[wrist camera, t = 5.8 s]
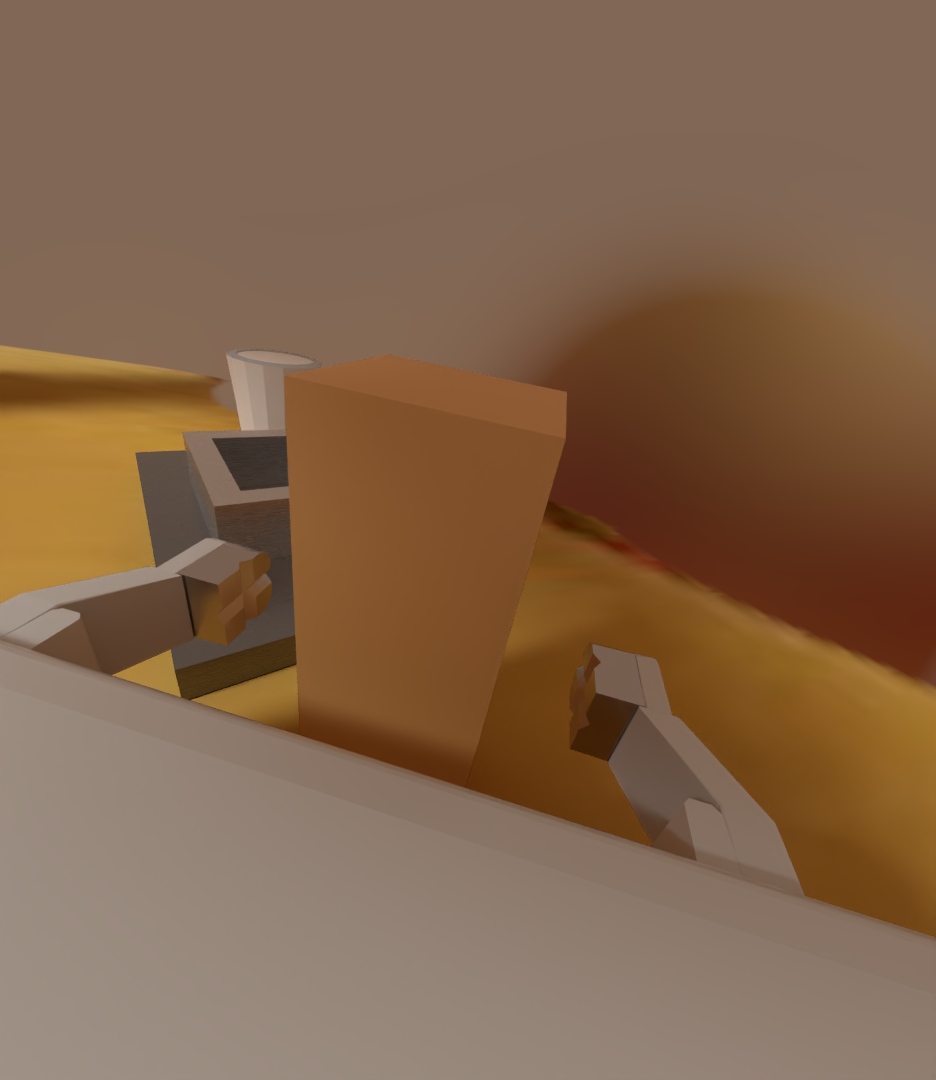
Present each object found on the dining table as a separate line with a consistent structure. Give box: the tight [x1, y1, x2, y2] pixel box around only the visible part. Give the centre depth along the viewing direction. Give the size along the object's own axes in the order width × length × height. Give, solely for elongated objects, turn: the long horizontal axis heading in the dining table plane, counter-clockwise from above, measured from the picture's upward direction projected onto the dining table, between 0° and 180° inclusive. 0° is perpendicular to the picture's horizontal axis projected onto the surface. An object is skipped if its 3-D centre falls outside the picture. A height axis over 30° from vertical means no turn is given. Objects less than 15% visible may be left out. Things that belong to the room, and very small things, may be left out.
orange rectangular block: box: [284, 355, 567, 788], centre depth 10 cm, size 4×4×12 cm
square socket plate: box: [136, 430, 297, 700], centre depth 24 cm, size 20×14×4 cm
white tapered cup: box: [226, 349, 322, 431], centre depth 35 cm, size 7×7×7 cm
